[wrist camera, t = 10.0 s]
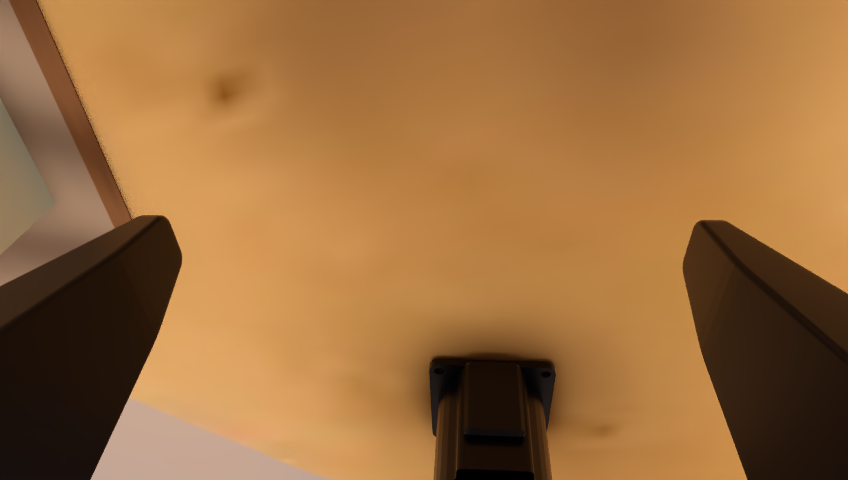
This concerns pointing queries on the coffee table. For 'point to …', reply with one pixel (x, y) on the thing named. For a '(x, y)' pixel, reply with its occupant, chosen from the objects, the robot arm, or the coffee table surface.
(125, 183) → the coffee table surface
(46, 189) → the tea tin
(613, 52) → the coffee table surface
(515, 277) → the coffee table surface
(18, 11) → the shelf board
